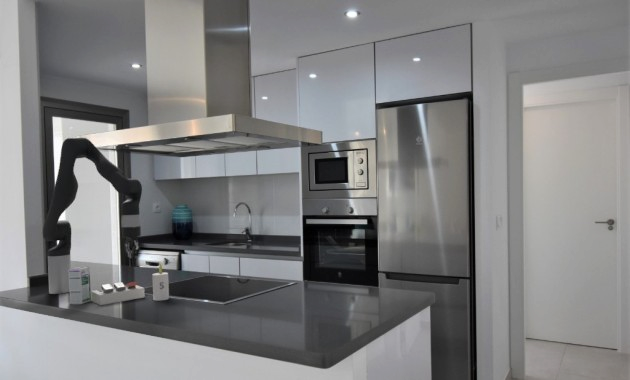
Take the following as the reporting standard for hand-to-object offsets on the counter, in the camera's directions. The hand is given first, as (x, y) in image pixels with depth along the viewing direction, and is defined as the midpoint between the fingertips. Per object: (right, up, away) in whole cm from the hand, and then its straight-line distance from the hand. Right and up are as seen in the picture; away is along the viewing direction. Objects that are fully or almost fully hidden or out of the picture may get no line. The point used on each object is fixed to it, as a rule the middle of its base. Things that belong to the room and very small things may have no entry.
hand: (132, 266), depth 201 cm
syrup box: (-20, -15, -4) cm, 25 cm away
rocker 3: (-1, -8, +2) cm, 8 cm away
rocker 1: (-9, -8, -5) cm, 13 cm away
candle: (+13, -13, -3) cm, 19 cm away
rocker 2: (-5, -8, -2) cm, 10 cm away
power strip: (-4, -14, +2) cm, 15 cm away
